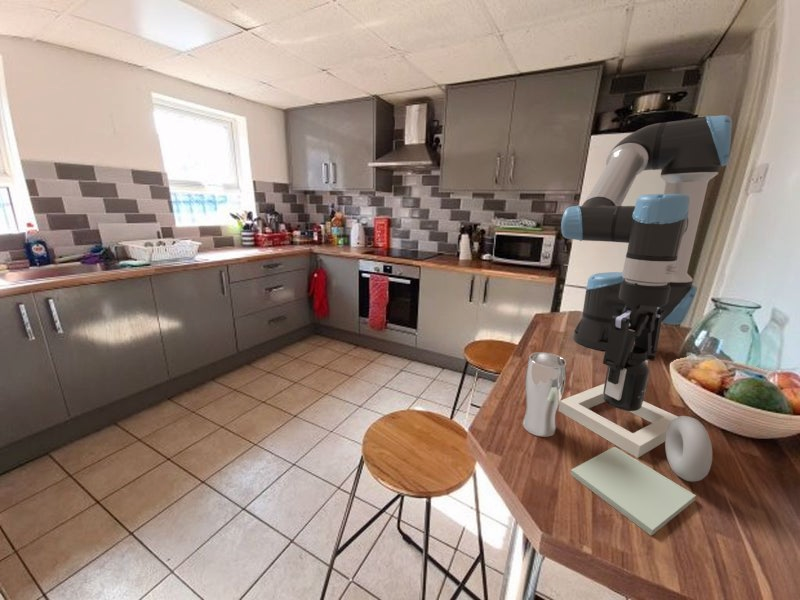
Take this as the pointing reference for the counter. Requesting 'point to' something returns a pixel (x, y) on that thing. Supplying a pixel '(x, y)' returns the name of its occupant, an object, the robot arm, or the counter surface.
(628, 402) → the supplement bottle
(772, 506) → the counter surface
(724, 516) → the counter surface
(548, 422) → the beer glass
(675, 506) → the mat
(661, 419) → the holder
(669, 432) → the donut
